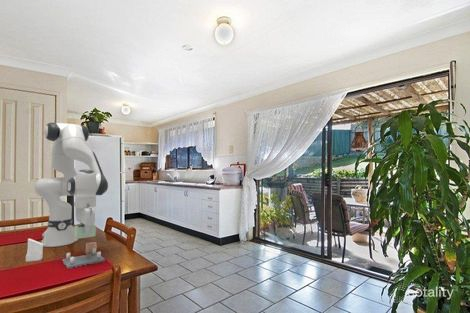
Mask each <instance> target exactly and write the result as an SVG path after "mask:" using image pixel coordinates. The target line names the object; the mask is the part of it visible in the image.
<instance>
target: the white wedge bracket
mask: <svg viewBox="0 0 470 313" xmlns="http://www.w3.org/2000/svg"><path fill="white" fill-rule="evenodd" d="M43 252H44V246H43V244H42V243H41V242H39V241H37V240H34V239H32V238H27V252H26V255H25V263H26V262H35V261H41V260H42V259H43V256H44V255H43Z"/></svg>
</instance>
